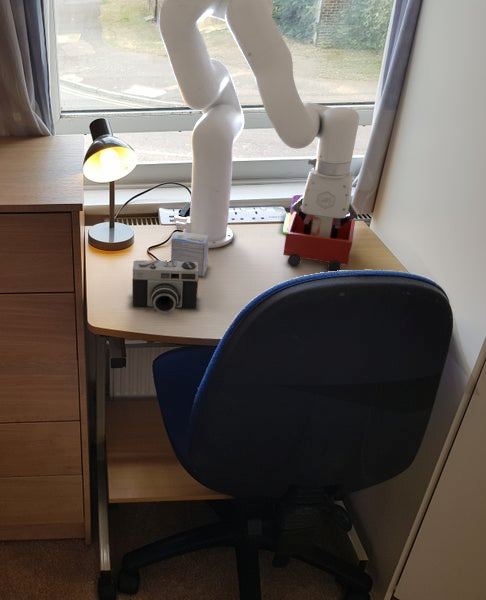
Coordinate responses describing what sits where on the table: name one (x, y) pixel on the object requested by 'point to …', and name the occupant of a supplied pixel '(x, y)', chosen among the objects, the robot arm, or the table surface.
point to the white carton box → (321, 226)
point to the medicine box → (190, 249)
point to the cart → (318, 244)
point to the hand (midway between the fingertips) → (319, 238)
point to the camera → (165, 285)
